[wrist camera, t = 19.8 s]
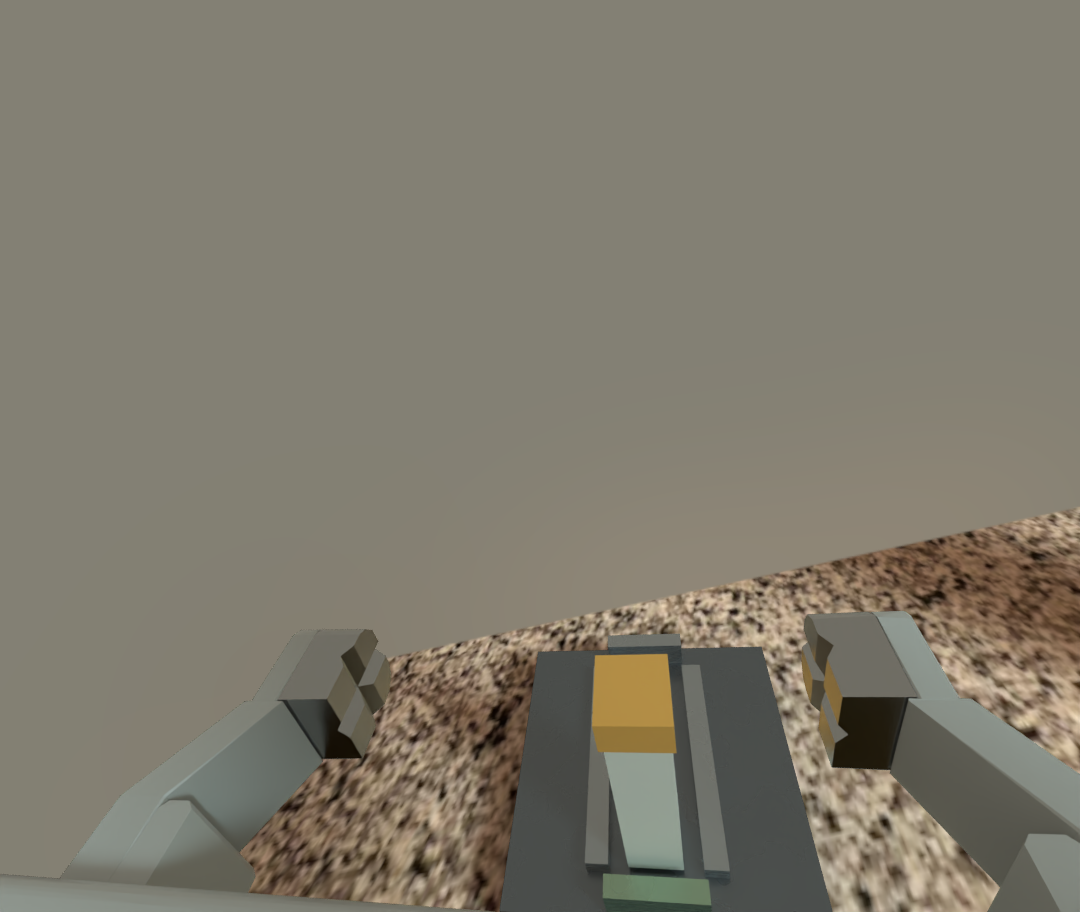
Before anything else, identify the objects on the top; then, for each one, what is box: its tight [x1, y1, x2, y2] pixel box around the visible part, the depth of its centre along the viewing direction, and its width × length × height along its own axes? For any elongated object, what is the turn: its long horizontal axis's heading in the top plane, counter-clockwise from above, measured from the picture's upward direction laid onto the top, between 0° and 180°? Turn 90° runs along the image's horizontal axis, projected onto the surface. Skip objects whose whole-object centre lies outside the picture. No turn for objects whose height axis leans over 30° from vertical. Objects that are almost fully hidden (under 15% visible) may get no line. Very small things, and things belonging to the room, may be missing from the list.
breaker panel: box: [500, 634, 832, 912], centre depth 33 cm, size 16×16×5 cm
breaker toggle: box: [592, 654, 684, 870], centre depth 26 cm, size 3×3×12 cm
